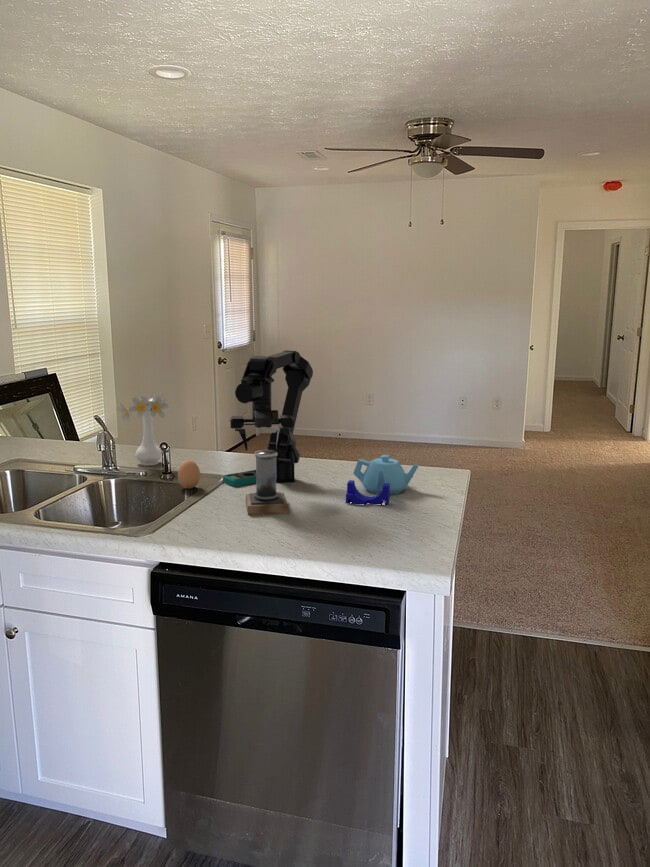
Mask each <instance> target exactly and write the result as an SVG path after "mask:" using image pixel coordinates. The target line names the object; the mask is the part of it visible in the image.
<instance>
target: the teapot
mask: <svg viewBox="0 0 650 867" xmlns="http://www.w3.org/2000/svg"><path fill="white" fill-rule="evenodd" d="M390 457H391V456H390V455H388V454H382V455H380V457H378V458H374V459H372V460H371V461H369V460H365V459H362V458H358V460H357V463H356V465H355V467H354V471H353V472H352V474H353V475H354V476H355V477H356V478H357V479H358V480H359V481H360V483H361V484H362V486H363V487H364V489H365V490H366V491H367V490H368V491H367V492H369V491H370V492H369V493H372V492H373V493H372V494H376V493H378V494H380V493H381V492H382V489H383V485H384V484H385V483H390V495H396V493H397V494H400V493H402V492H403V491H404V490H405V489H406V487H407V486H408V485H409V483H410V482H411V480H412V478H413V477H414V474H416V471H417V470H418V468H419V464H413V465H412V466H411V467H410V469H409V470H408V471H407V472H405V470H404V468H403V467H402V465H401V463H400V462H399V460H397V459H394V458H390ZM363 466H365V467H366V468H365V470H364V472H362V471H361V470H362V468H363ZM378 494H377V495H378Z"/></svg>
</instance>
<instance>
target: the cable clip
mask: <svg viewBox="0 0 650 867" xmlns="http://www.w3.org/2000/svg"><path fill="white" fill-rule="evenodd" d="M390 495H391V494H390V483H385V484H384V485H383V489H382V492H381V493H380V494H376V495H374V496H368V495H364V494H362V493H361V492H360V491H359V490H358V489H357V486H356V484H355V480H353V479H349V480H348V481H347V483H346V493H345V504H346V503H349V504H348V505H355V504H364V505H363V506H367V505H368V504H367V503H370V504H369V505H373V504H381V505H380V506H383V505H382V503H383V502H386V503H385V505H388V506H389V504H390V497H391V496H390ZM350 502H352V503H351V504H350ZM366 504H367V505H366Z"/></svg>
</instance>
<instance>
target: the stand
mask: <svg viewBox="0 0 650 867" xmlns="http://www.w3.org/2000/svg"><path fill="white" fill-rule="evenodd" d="M276 492H277V491H276ZM254 493H255V492H254ZM254 493H253V492H252V493H250V492H249V493H246V494H245V506H246V513H247V515H249V516H251V515H252V516H253V515H254V516H255V515H256V516H257V515H275V514H277V515H278V514H289V503H288V501H287V498H286V496H285V493H284V492H277V493H278V499H276V500H273V501H259V500H256V499H255V498H254Z"/></svg>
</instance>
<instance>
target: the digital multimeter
mask: <svg viewBox="0 0 650 867" xmlns="http://www.w3.org/2000/svg"><path fill="white" fill-rule="evenodd" d="M222 483H224V484H226V485H228V486H230V487H234V488H235V487H242V486H246V485H250V484H256V469H252V470H246V471H242V472H241V471H240V472H235V473H234V472H233V473H229V474H224V475H223V476H222Z"/></svg>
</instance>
